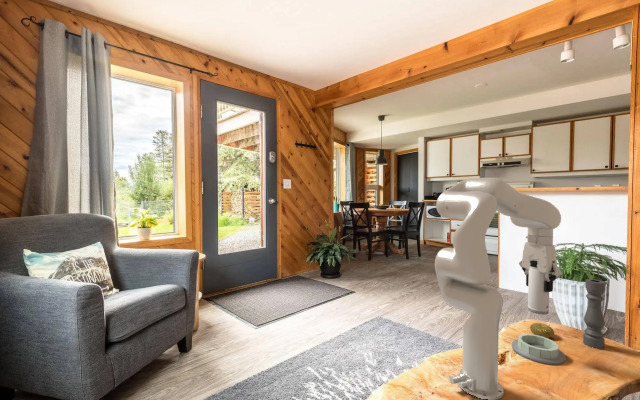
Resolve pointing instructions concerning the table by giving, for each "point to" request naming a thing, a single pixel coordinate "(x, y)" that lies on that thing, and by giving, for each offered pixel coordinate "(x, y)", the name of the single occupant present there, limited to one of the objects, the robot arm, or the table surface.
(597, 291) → the candle holder
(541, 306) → the travel mug
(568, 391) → the table surface
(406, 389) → the table surface
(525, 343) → the mug dock
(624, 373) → the table surface
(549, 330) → the sculpture
